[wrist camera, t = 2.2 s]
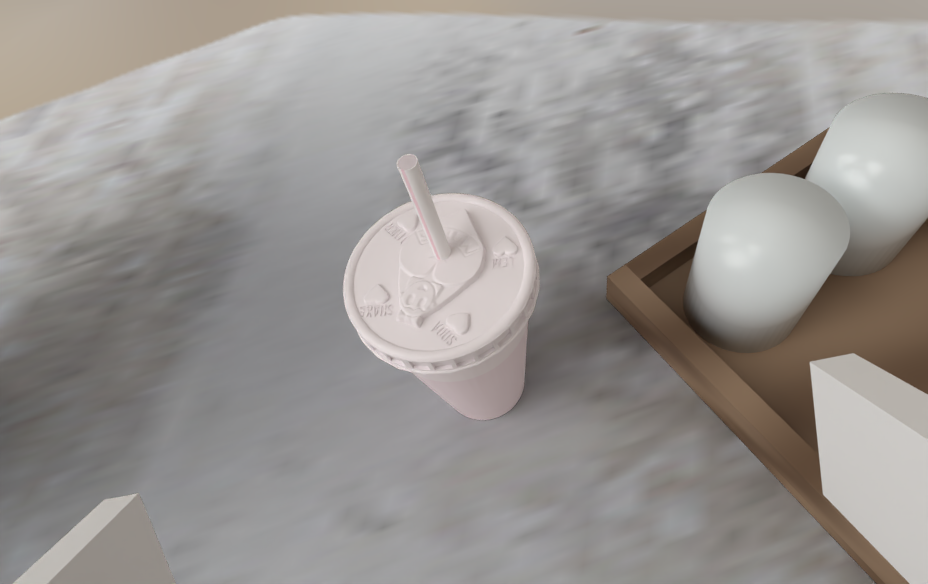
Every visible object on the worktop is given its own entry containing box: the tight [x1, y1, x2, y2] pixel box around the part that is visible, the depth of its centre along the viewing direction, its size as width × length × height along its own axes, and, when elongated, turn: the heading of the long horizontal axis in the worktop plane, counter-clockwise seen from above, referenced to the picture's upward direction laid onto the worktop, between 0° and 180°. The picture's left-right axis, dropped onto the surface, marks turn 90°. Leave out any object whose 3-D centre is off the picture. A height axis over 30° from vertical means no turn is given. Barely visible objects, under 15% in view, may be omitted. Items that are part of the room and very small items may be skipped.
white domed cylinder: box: [805, 93, 928, 276], centre depth 24 cm, size 5×5×6 cm
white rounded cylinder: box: [683, 173, 850, 353], centre depth 23 cm, size 5×5×6 cm
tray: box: [606, 127, 928, 584], centre depth 22 cm, size 20×14×2 cm
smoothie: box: [343, 154, 540, 420], centre depth 21 cm, size 6×6×14 cm
